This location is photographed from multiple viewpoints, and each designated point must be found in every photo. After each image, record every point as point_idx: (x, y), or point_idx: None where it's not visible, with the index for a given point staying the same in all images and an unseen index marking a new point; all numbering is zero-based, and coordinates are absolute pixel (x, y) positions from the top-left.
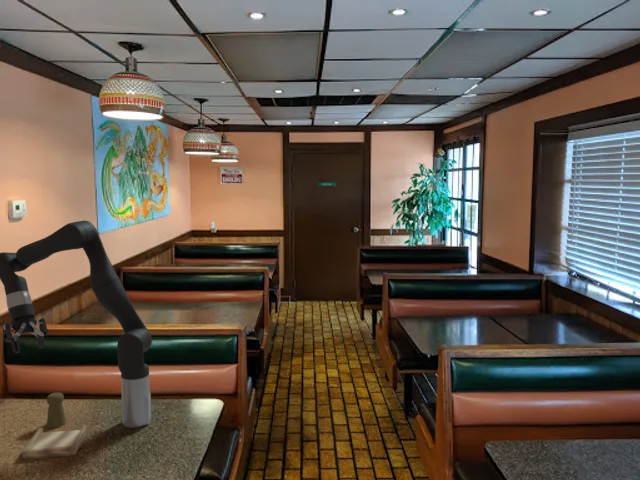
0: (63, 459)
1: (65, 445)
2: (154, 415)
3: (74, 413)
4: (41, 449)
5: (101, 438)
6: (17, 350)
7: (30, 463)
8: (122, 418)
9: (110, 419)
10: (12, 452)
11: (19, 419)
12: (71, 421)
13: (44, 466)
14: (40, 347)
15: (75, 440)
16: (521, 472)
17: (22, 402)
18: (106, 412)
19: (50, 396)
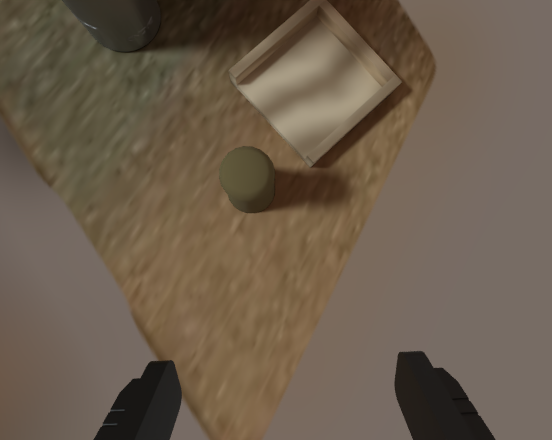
0: None
1: (310, 52)
2: None
3: (185, 208)
4: (369, 52)
5: (233, 22)
6: (427, 366)
7: (389, 61)
8: (149, 21)
9: (153, 90)
10: (388, 142)
11: (290, 302)
12: None
13: (379, 24)
14: (176, 384)
15: (298, 21)
16: None
17: (225, 412)
18: (130, 136)
19: (266, 168)
